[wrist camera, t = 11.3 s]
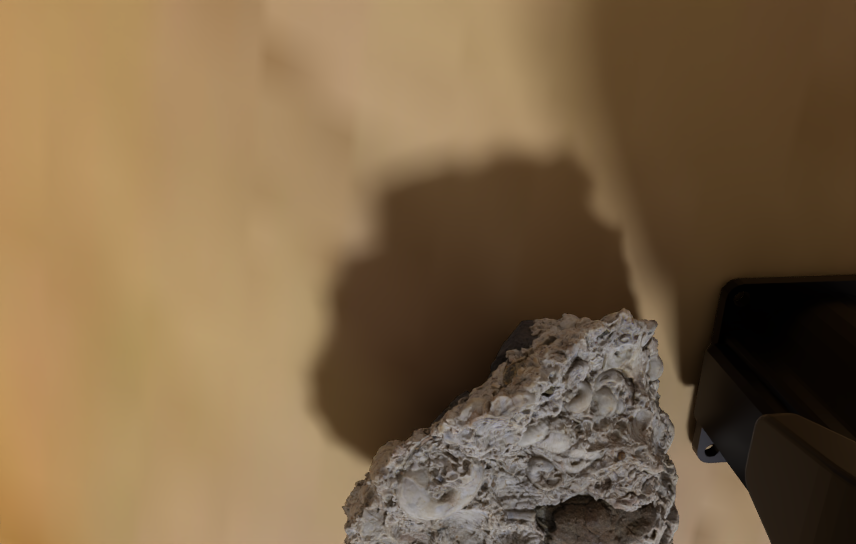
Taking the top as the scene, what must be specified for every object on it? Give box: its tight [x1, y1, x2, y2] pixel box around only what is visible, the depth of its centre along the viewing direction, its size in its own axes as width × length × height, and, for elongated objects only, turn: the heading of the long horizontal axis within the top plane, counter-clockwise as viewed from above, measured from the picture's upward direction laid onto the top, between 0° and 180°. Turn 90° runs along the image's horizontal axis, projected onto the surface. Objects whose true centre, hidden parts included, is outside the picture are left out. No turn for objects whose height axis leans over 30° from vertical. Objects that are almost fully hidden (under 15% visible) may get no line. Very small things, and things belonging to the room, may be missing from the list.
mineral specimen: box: [342, 308, 679, 544], centre depth 23 cm, size 6×11×12 cm
